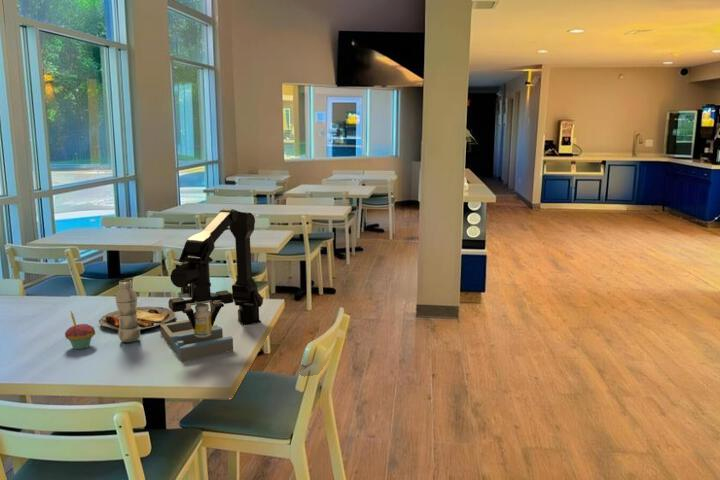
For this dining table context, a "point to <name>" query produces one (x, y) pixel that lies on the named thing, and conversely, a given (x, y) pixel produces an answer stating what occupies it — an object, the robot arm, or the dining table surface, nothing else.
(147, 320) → the food plate
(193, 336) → the grey square frame
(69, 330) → the cupcake
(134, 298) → the plastic bottle
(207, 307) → the supplement bottle
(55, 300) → the dining table surface
